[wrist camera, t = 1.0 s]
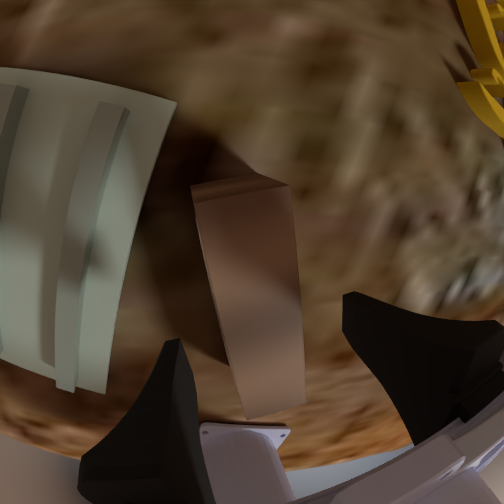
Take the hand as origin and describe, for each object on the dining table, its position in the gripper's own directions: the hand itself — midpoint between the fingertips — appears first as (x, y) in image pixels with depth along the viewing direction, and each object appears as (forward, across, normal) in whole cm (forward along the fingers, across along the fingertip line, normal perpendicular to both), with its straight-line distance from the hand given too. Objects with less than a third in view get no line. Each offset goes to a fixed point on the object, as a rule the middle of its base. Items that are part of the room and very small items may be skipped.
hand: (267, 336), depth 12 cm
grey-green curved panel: (+5, +11, -5) cm, 13 cm away
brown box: (+6, 0, 0) cm, 6 cm away
